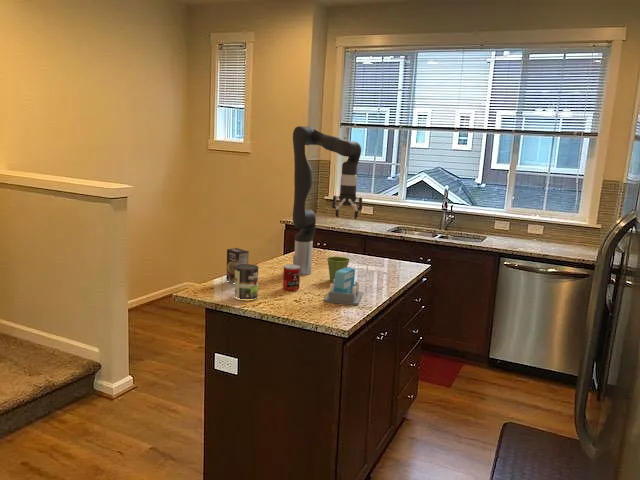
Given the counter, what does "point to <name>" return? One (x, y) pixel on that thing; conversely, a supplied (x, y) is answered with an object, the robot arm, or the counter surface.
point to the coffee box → (235, 261)
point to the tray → (344, 296)
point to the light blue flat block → (344, 280)
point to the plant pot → (336, 265)
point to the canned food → (291, 277)
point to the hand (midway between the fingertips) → (346, 218)
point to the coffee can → (246, 281)
